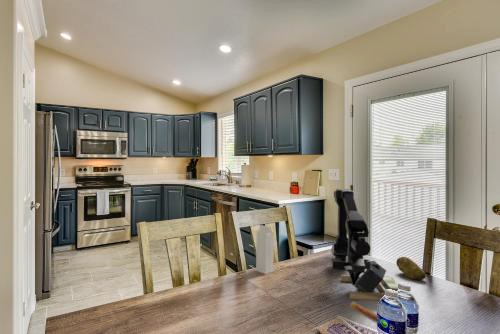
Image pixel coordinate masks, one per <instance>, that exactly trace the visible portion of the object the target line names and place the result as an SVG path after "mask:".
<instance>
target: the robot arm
mask: <svg viewBox="0 0 500 334" xmlns="http://www.w3.org/2000/svg"><path fill="white" fill-rule="evenodd" d="M354 195H355V194H354V191H353V190H351V189H350V188H349V189H347V188H342V189H341V188H336V189H335V190H334V191H333V198H334V202H335V204H336V205H337V235H336V236H335V237H334V240H333V243H332V246H331V255H332V256H334V257H332V258H331V259H330V265H331V268H332V269H334V270H345V271H346V272H347V273H348V275H350V278H351V281H352V282H351V284H352V286H353V287H355V285H356V283H357V282H356V281H357V279H358V277H359V276H361V275H362V274H363V273H364V272H365V271H366V270H367V269H370V266H371V265H373V266H374V267H375V268H377V269H380V267H379V265H380V264H379V263H377V262H376V261H375V260H370V259H367V258H364V256H367V255H368V254H369V253H370V252H371V246H370V244H369V242H368V241H366V238H369V234H370V232H369V229H368V224H367V222H366V221H365V219H364V216H363V215H362V214H360V213H359V211H358V208H357V204H356V200H355V198H354ZM378 264H379V265H378Z"/></svg>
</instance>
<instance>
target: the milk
mask: <svg viewBox="0 0 500 334" xmlns="http://www.w3.org/2000/svg"><path fill="white" fill-rule="evenodd" d="M274 233H275V232H274V231H272V230H271V227H270V226H267V225H263V224H260V228H259V229H258V230H257V231H256V238H255V239H256V244H255V245H256V246H255V247H256V249H255V250H256V253H255V254H256V255H255V256H256V257H255V259H256V260H255V271H256V272H258V273H261V274H264V275H267V274H269V273H271V272H273V271H274V247H275V246H274V240H275V239H274V235H275V234H274Z"/></svg>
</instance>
